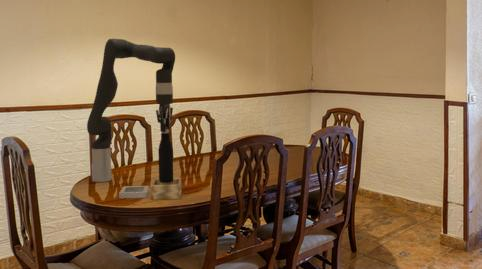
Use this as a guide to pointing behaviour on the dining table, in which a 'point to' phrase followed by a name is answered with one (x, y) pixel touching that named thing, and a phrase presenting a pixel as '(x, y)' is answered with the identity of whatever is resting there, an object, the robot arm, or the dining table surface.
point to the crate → (166, 189)
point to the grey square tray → (134, 192)
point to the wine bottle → (165, 157)
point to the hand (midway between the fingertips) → (165, 130)
